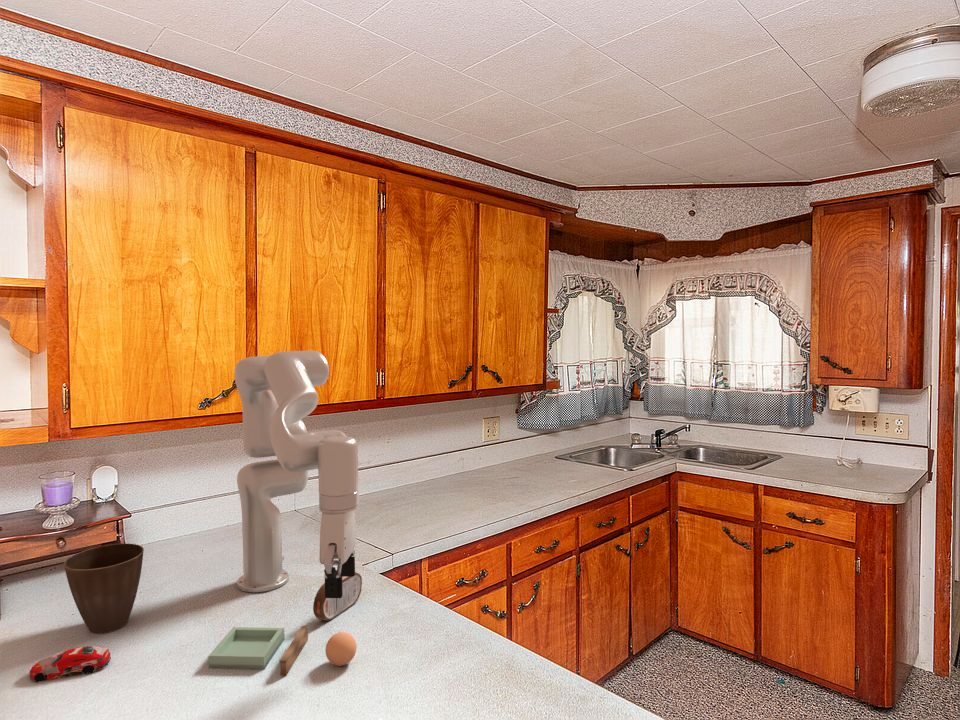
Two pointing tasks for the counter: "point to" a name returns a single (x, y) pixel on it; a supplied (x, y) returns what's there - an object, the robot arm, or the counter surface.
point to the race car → (71, 663)
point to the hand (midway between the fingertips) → (340, 586)
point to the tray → (246, 648)
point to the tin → (336, 606)
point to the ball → (341, 648)
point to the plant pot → (105, 584)
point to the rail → (293, 651)
